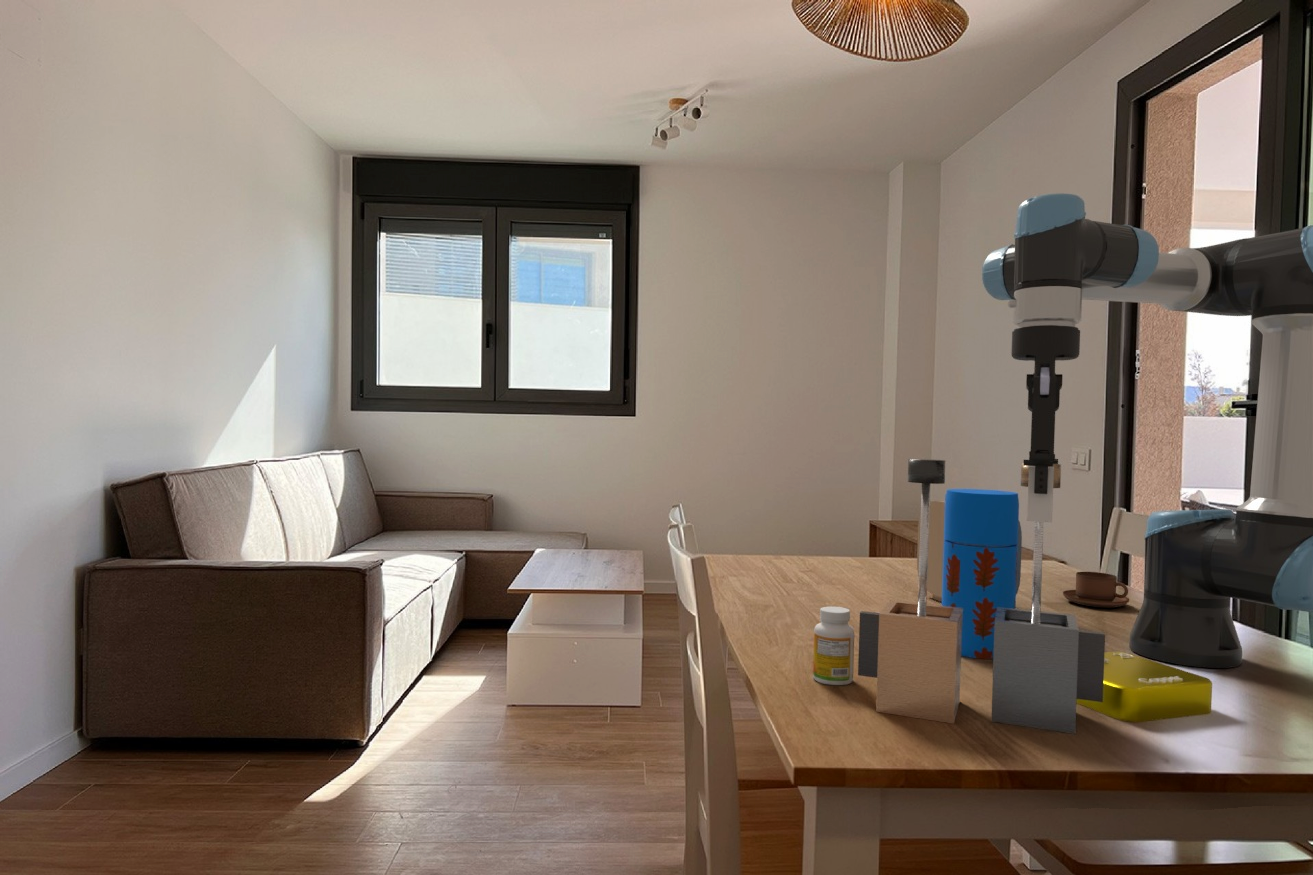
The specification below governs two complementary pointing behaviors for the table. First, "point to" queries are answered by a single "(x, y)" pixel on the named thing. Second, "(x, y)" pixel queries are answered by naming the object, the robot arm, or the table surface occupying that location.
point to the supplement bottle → (833, 647)
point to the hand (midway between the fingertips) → (1039, 518)
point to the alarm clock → (937, 547)
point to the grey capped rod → (925, 517)
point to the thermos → (980, 562)
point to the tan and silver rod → (1038, 549)
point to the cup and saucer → (1097, 590)
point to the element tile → (1149, 690)
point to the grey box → (1044, 669)
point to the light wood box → (913, 659)
